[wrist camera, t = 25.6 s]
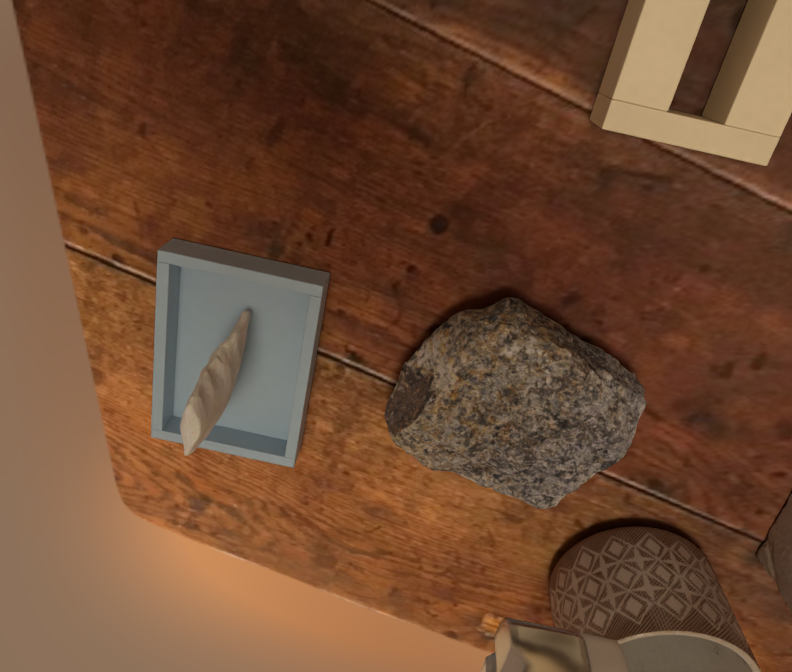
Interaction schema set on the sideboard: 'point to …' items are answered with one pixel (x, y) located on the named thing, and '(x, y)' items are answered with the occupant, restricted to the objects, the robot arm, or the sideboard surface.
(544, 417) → the rock
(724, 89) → the holder
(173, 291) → the tray
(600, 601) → the planter
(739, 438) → the sideboard surface
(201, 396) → the arrowhead
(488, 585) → the sideboard surface
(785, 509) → the fossil
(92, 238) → the sideboard surface
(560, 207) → the sideboard surface
